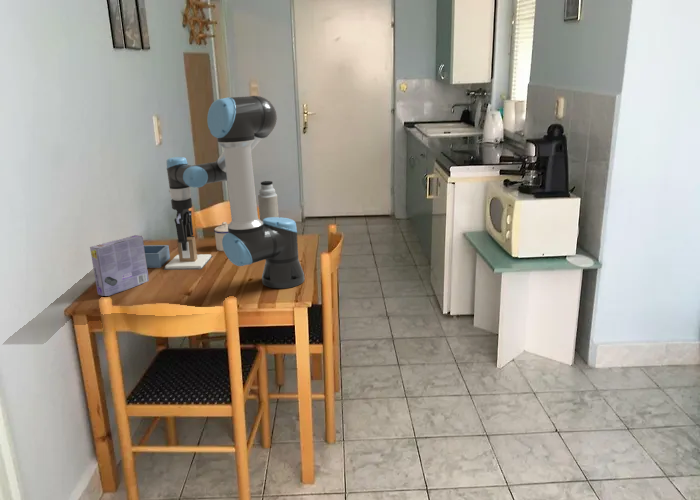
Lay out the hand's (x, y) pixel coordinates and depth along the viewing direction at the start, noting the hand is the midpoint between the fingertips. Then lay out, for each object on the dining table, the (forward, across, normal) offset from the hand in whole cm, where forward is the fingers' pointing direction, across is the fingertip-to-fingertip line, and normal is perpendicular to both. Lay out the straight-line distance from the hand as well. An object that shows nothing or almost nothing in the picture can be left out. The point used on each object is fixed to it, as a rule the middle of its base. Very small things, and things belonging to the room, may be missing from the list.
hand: (188, 256), depth 226 cm
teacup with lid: (+3, -20, +11) cm, 23 cm away
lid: (+3, 0, 0) cm, 3 cm away
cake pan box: (+3, +25, -15) cm, 30 cm away
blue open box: (+3, 0, -15) cm, 15 cm away
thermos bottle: (+3, -22, +29) cm, 37 cm away
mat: (+3, 0, 0) cm, 3 cm away
